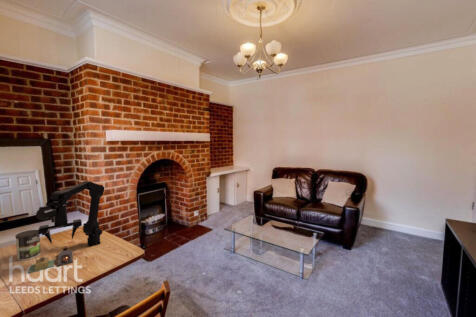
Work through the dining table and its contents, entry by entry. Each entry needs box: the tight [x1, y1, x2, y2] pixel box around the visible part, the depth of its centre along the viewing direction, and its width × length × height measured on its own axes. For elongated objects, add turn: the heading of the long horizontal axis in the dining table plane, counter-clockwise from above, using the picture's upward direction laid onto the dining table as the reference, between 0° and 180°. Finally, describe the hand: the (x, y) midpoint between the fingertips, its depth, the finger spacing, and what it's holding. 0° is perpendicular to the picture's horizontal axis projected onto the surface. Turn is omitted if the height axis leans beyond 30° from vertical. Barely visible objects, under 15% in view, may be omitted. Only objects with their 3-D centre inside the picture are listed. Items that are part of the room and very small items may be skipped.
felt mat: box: [28, 259, 55, 274], centre depth 118 cm, size 10×8×1 cm
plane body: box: [57, 245, 74, 267], centre depth 125 cm, size 15×6×5 cm, turn 38°
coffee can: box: [14, 229, 42, 262], centre depth 128 cm, size 10×10×14 cm
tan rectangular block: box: [35, 256, 50, 270], centre depth 117 cm, size 7×5×3 cm
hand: (62, 240), depth 122 cm, fingers open, 9 cm apart
